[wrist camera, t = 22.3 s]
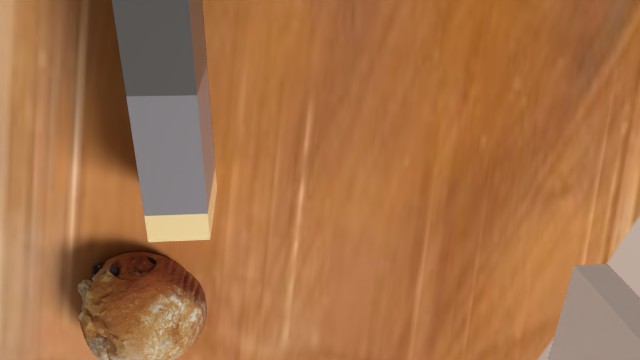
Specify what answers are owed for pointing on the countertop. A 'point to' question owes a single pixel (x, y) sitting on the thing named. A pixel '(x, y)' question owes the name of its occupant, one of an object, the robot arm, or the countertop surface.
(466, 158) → the countertop surface
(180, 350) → the bread roll
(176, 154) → the grey rectangular block
